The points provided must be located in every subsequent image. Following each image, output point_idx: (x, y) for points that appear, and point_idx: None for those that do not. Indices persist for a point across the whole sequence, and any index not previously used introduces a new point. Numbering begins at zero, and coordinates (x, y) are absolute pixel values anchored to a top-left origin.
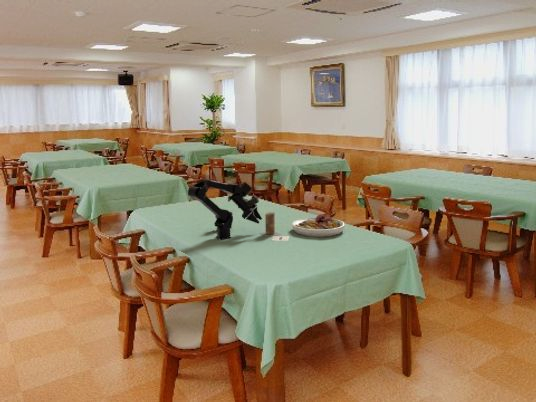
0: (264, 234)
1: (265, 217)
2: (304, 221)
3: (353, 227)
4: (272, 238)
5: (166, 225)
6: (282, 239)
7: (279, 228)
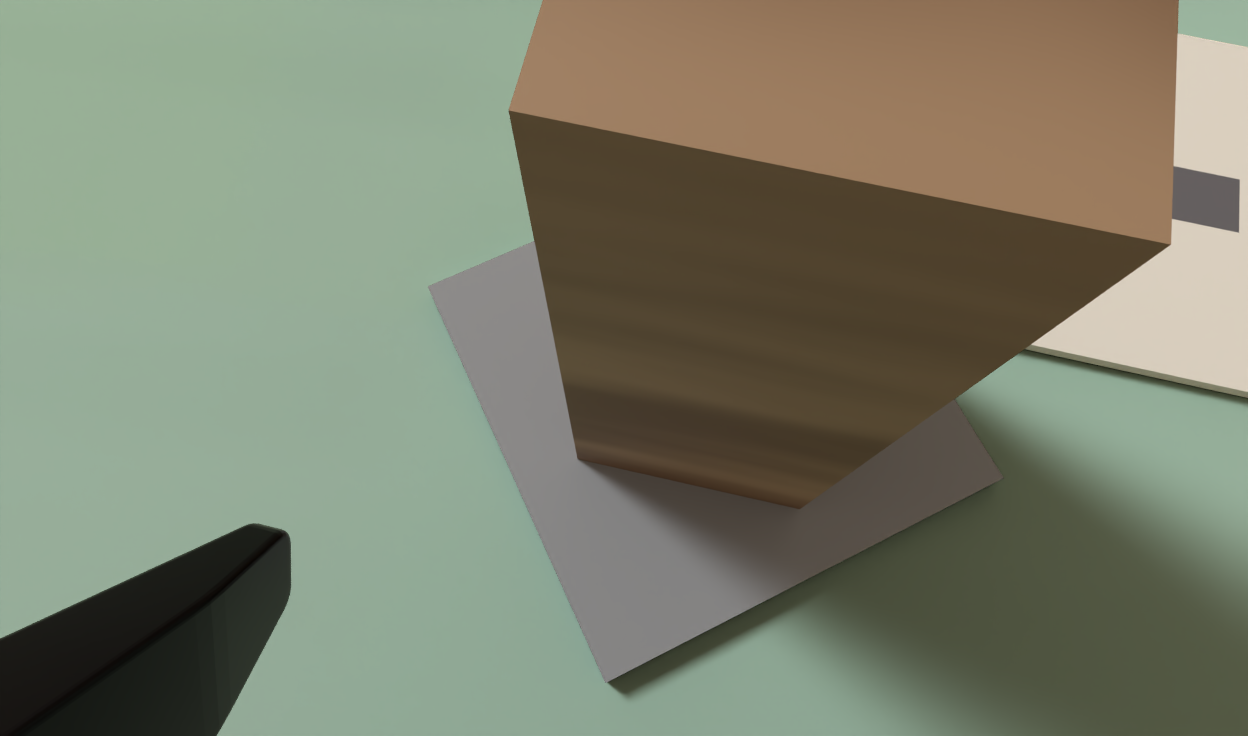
0: (742, 539)
1: (1038, 335)
2: None
3: None
4: (1145, 367)
5: None
6: (1228, 157)
7: (119, 108)
